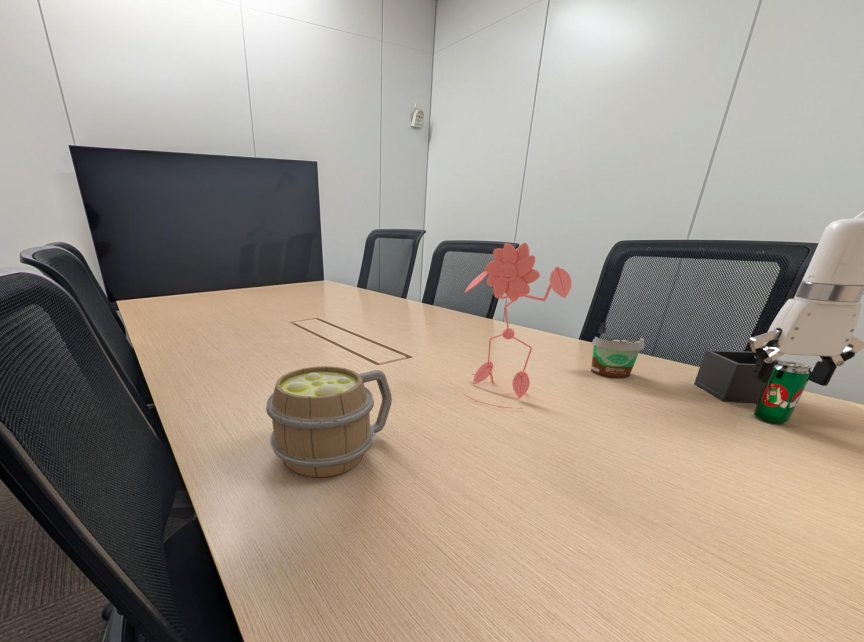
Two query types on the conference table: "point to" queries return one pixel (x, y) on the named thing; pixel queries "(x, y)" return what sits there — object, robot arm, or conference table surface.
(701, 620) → the conference table surface
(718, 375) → the trash bin
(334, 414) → the mug
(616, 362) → the food container
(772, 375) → the soda can
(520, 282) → the figurine
